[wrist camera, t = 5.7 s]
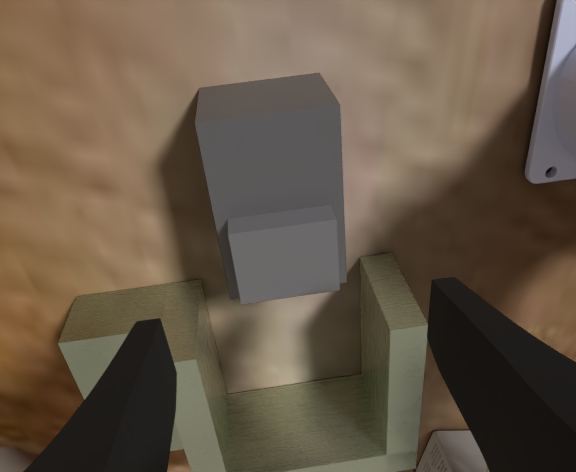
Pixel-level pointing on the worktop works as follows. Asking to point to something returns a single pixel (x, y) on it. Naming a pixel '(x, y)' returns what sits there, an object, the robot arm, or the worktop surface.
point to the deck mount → (277, 400)
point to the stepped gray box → (275, 185)
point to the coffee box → (452, 453)
